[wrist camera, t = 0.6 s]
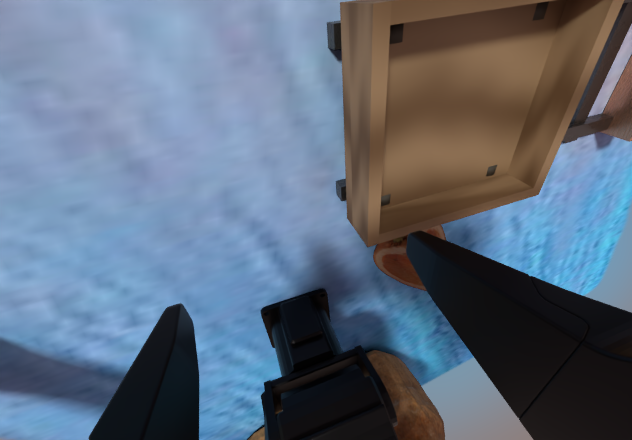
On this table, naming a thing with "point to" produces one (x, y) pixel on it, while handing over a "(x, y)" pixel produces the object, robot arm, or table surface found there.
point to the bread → (402, 401)
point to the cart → (458, 103)
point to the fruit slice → (401, 259)
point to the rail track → (621, 111)
